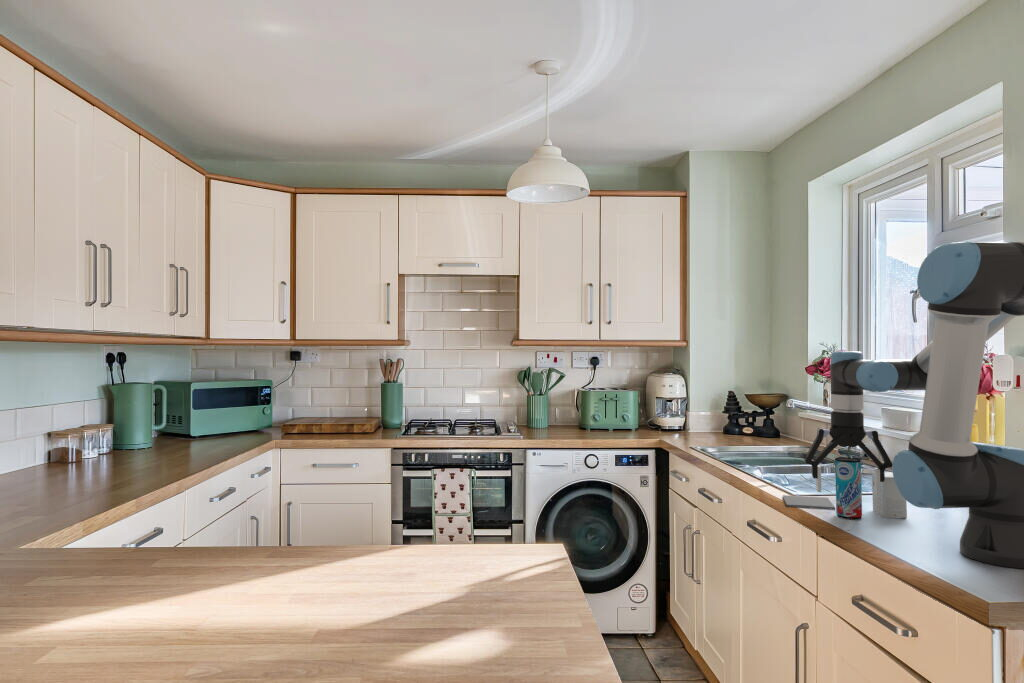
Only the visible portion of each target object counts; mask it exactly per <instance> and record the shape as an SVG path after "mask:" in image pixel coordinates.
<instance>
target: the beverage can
mask: <svg viewBox="0 0 1024 683" xmlns="http://www.w3.org/2000/svg"><path fill="white" fill-rule="evenodd" d="M834 458H835V459H834V460H835V465H834V466H835V469H834V470H835V471H834V472H835V475H834V476H835V506H836V507H835V511H836V512H835V514H836V516H837V517H838V518H841V519H844V520H860V519H862V516H863V500H862V498H863V497H862V495H863V493H862V491H863V490H862V459H860V458H857V457H856V458H855V457H848V456H847V457H846V456H844V457H842V456H839V457H834Z"/></svg>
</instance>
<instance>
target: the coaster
mask: <svg viewBox="0 0 1024 683" xmlns="http://www.w3.org/2000/svg"><path fill="white" fill-rule="evenodd" d="M782 498H783V500H784V503H785V505H786V508H804V509H819V510H821V509H822V510H836V507H835V505H834V504H833V503H832V502H831V500H830V499H829V498H828V497H826V496H825V497H821V496H803V495H788V494H786V495H785V494H782Z"/></svg>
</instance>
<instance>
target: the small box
mask: <svg viewBox="0 0 1024 683" xmlns="http://www.w3.org/2000/svg"><path fill="white" fill-rule="evenodd" d="M884 472H885V480H884V482H880V496H879V495H876V494H875V493H874V471H871V483H872V484H871V485H872V486H871V489H872V491H871V492H872V511H874V512H875V513H876V514H878V515H879V514H880V516H881V517H882V516H883V517H882V518H884V517H885V518H886V517H888V518H890V519H891V518H892V519H893V518H894V519H907V518H908V508H907V507H908V506H907V505H908V504H907V500H906V499H905V498H904V497H903V496H902V495H901V493H900V492H899V490H898V487H897V485H896V483H895V480H894V477H893V471H892V472H891V471H884Z"/></svg>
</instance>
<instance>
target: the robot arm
mask: <svg viewBox="0 0 1024 683" xmlns="http://www.w3.org/2000/svg"><path fill="white" fill-rule="evenodd" d="M921 262H922V263H921V265H920V267H919V270H918V273H917V279H916V285H917V286H916V287H917V289H918V290H919V291H918V293H919V295H920V297H921V298H922V300H924V301H926V302H927V303H928V304H927V311H928V312H929V313H930V314H931V315H932V316H933V317H934V319H935V320H934V326H933V327H934V328H933V334H932V340H931V341H930V342H929V343H928V344H927V345H926V346H924V347H923V348H922V350H921V351H920V352H919V353H917V354H916V355H915V356H914V357H913V358H910V359H864V355H863V352H862V351H859V350H858V351H852V350H849V351H848V350H847V351H846V350H842V351H841V350H840V351H839V350H836V351H832V353H831V354H830V364H829V371H830V372H829V374H830V377H829V378H830V408H831V409H832V410H831V412H830V428H829V429H827V428H826V429H824V428H821V427H818V428H817V432H816V437H815V439H814V441H813V442H812V444H811V446H810V447H809V449H808V451H807V453H806V454H805V457H804V460H803V461H804V463H806V464H807V465H811V476H812V478H813V479H816V491H817V492H818V493H822V466H821V465H820V464H821V462H823V461H824V459H826V457H828V456H829V455H830V453H831V452H832V451H834V449H836V448H837V446H839V447H842V448H846V447H848V448H849V447H850V448H856V447H857V446H858V447H859V449H861V450H862V451H863V452H864V453H865V455H866V456H867V457H868V458H869V459H870V460H871V461H872V463H874V464H875V465H876V466H877V467H874V468H873V469H874V470H873V472H874V493H875V494H876V495H879V496H880V482H884V480H885V472H886V471H885V470H886V469H888V468H891V469H892V472H893V477H894V480H895V483H896V485H897V487H898V490H899V492H900V493H901V495H902V496H903V497H904V498H905V499H906V502H908V503H910V505H912V506H914V507H916V508H921V509H934V510H940V509H957V508H958V509H961V508H963V509H965V508H968V518H967V520H966V523H965V525H964V528H963V531H962V533H961V535H960V537H959V538H960V539H959V552H960V553H961V554H962V555H964V556H966V557H968V558H970V559H971V560H975V561H978V562H981V563H982V562H983V563H985V564H990V565H994V566H1000V567H1005V568H1006V567H1007V568H1015V569H1024V448H1019V447H1014V446H1007V445H1000V444H992V443H986V442H977V441H976V442H975V441H971V436H972V429H973V423H974V418H975V410H976V406H977V405H976V404H977V400H978V399H977V398H978V393H979V386H980V380H981V373H982V369H983V368H982V367H983V361H984V355H985V350H986V349H985V348H986V342H987V341H988V340H990V339H991V338H992V337H993V336H994V335H996V334H997V333H998V332H999V331H1000V330H1002V329H1003V328H1004V327H1006V325H1008V324H1009V323H1010V322H1011V321H1012V320H1014V319H1015V318H1016V317H1024V241H1022V242H1020V241H1008V242H1006V241H1001V242H1000V241H959V242H958V241H957V242H947V243H942V244H941V245H938V246H936V247H935V248H933V249H932V251H931V252H929V253H928V254H927V255H926V256H925V257H924V259H923V261H921ZM864 391H869V392H872V393H883V392H884V393H885V392H888V391H891V392H892V391H925V392H924V397H923V404H922V412H921V420H920V425H919V431H917V432H916V433H914V434H913V435H912V436H910V437H909V440H908V449H905V450H903V449H902V450H901V451H899V452H897V453H896V454H895V455H894V457H893V459H892V460H891V458H890V457H889V455H888V454H887V452H886V450H885V448H884V445H883V444H882V442H881V440H880V439H879V432H878V431H877V430H876V429H871V430H865V426H864V421H865V420H864V412H863V410H864ZM827 435H829V436H830V438H831V440H830V441H829V442H828V444H827V445H826V446H825V447H824V448H823V449H821V451H820V452H819V453H818V454H817V455H816V453H817V452H818V449H819V447H820V446H821V444H822V441H823V440H824V438H826V437H827ZM866 436H867V437H868V438H869V439H870V440H871V441H872V443H873V445H874V447H875V448H876V450H877V452H878V453H879V455H880V458H881V459H882V461H883V462H881V461H880V460H879V459H878V457H877V456H876V455H875V454H874V453H873V452H872V451H871V450H870V448H869V447H868V446H867V445H866V444H865V443H864V442H863V440H864V439H865V437H866ZM815 455H816V456H815ZM814 456H815V458H814Z"/></svg>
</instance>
